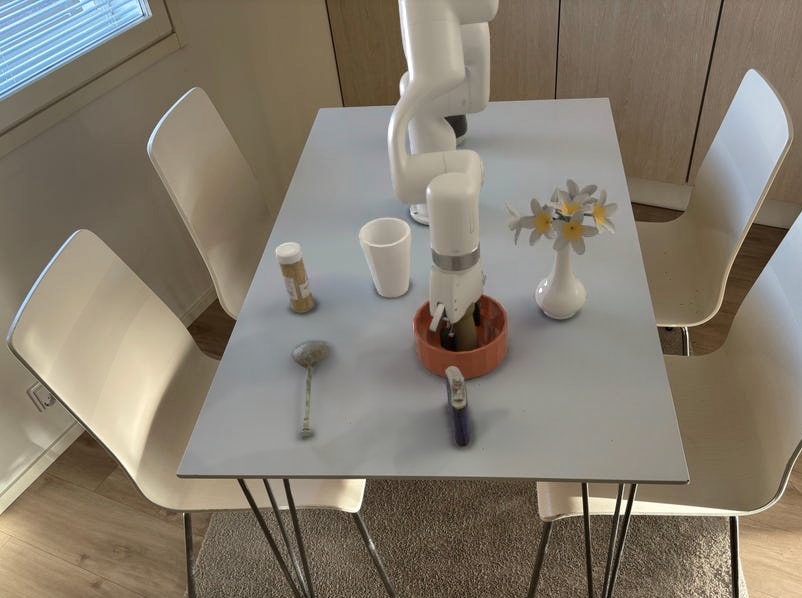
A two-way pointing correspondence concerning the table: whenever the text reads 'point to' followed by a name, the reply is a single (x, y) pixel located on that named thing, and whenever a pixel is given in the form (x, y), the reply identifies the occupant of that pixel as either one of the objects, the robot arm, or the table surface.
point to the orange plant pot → (468, 362)
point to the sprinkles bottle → (295, 276)
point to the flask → (458, 405)
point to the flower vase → (564, 242)
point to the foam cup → (387, 254)
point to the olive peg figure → (466, 331)
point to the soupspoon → (309, 371)
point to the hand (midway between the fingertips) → (461, 335)
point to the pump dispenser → (458, 126)
